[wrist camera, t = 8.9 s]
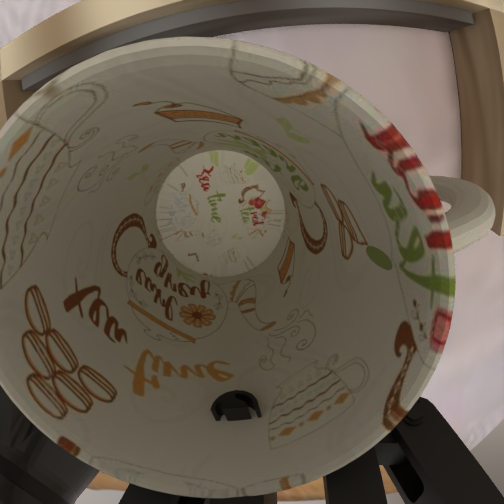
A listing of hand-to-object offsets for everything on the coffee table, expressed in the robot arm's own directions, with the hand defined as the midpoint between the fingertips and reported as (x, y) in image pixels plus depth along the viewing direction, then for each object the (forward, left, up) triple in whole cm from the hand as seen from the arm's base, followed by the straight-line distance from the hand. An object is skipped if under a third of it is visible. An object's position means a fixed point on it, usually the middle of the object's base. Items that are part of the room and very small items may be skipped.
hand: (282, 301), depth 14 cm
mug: (0, +4, -1) cm, 5 cm away
